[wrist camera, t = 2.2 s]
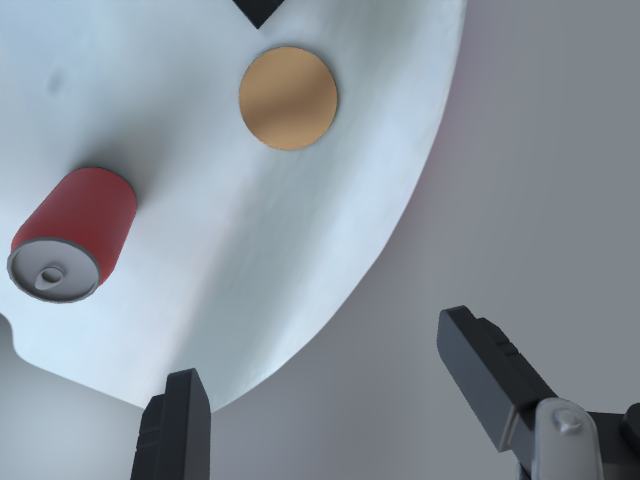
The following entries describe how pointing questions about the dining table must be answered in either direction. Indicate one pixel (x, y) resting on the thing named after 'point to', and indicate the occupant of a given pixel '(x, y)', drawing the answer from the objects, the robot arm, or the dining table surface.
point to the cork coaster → (288, 98)
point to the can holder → (258, 9)
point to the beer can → (73, 237)
